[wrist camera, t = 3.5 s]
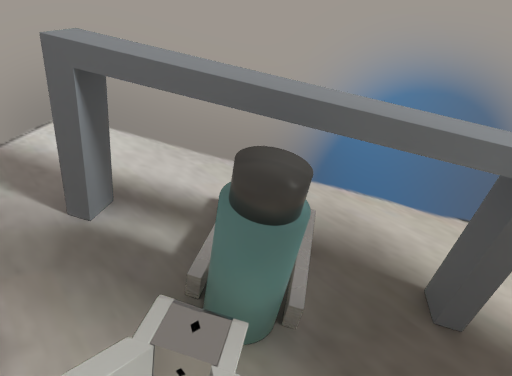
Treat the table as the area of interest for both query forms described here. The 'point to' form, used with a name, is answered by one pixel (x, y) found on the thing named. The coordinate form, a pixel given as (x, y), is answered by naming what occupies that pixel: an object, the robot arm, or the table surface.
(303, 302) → the guide rails
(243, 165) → the teal water bottle
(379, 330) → the table surface
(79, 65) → the arch
